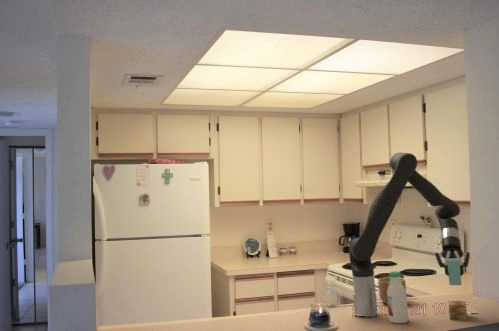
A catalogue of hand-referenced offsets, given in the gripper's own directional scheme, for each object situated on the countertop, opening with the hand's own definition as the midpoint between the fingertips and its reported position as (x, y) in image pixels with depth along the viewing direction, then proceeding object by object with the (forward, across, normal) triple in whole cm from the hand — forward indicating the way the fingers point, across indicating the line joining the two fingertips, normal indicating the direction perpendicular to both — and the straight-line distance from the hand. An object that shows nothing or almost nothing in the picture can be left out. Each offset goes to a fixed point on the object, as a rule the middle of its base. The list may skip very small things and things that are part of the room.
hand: (454, 274), depth 200 cm
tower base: (+11, 0, +14) cm, 18 cm away
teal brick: (+2, 0, +4) cm, 5 cm away
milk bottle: (+16, -23, +9) cm, 30 cm away
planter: (-3, -27, +29) cm, 40 cm away
